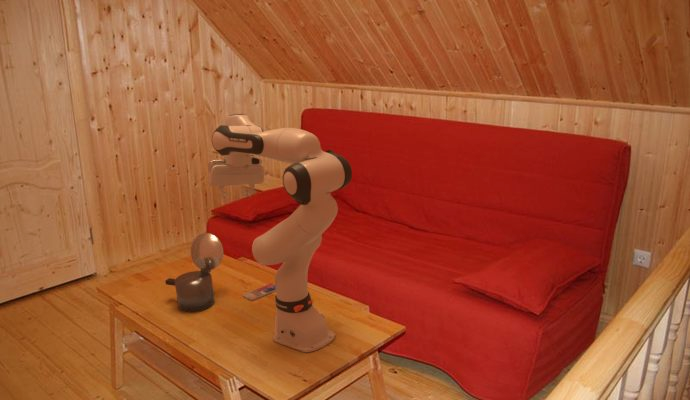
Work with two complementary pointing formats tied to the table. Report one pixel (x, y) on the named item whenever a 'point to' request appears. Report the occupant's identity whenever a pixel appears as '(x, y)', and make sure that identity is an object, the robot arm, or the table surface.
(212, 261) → the lid
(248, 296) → the smartphone
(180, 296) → the cooker pot
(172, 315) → the table surface
